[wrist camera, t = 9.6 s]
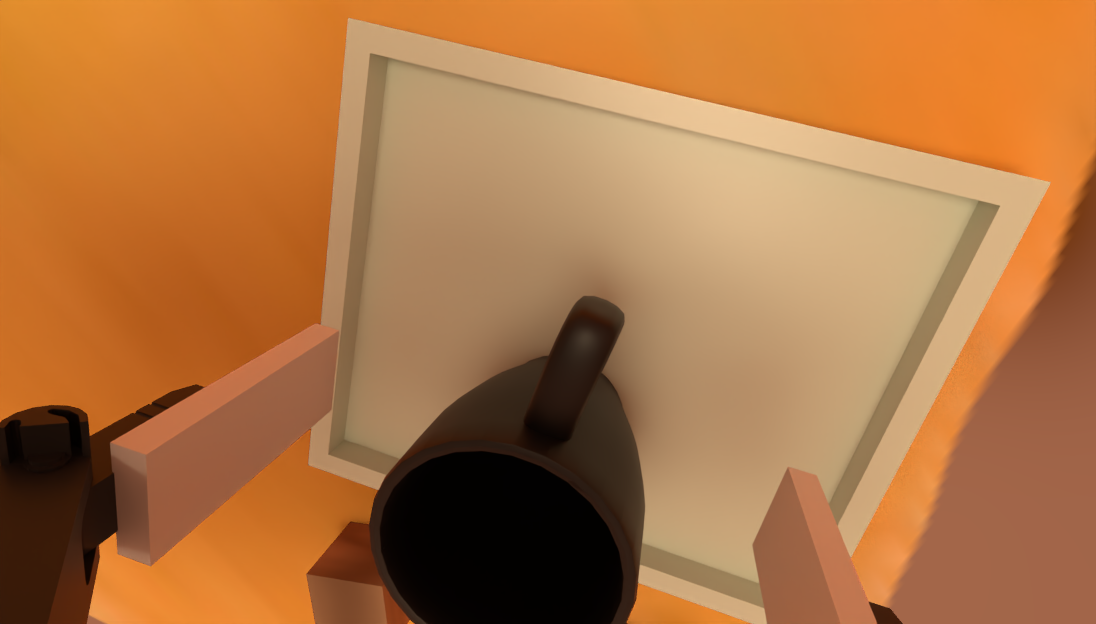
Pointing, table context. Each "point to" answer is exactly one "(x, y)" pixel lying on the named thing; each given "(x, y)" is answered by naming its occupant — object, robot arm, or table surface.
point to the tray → (650, 283)
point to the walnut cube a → (351, 583)
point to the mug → (521, 495)
